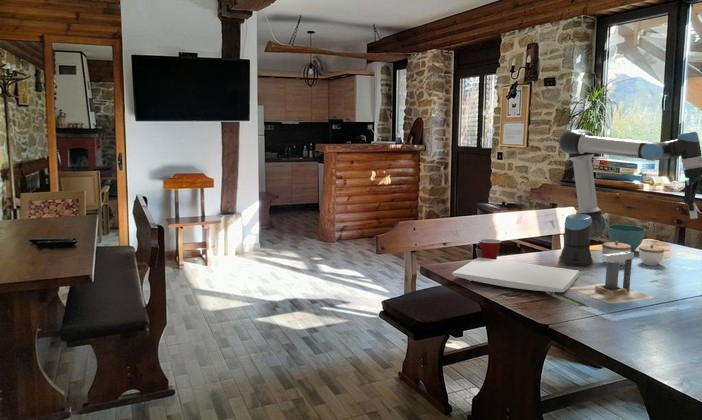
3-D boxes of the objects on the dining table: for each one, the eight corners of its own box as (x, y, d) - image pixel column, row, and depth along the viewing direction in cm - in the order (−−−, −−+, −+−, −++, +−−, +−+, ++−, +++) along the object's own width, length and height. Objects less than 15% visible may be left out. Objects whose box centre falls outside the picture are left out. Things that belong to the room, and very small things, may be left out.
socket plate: (567, 291, 224) (570, 257, 222) (609, 285, 232) (611, 252, 230) (611, 308, 204) (614, 270, 202) (655, 301, 212) (658, 264, 210)
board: (452, 283, 238) (452, 272, 237) (478, 266, 264) (478, 257, 264) (562, 300, 214) (563, 289, 213) (578, 281, 240) (579, 270, 240)
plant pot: (648, 250, 298) (650, 227, 296) (638, 256, 285) (640, 232, 283) (612, 245, 310) (613, 223, 308) (601, 250, 297) (602, 228, 295)
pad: (551, 295, 219) (551, 293, 219) (569, 293, 222) (569, 291, 222) (578, 306, 206) (578, 304, 206) (596, 303, 209) (596, 301, 209)
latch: (600, 260, 216) (601, 254, 216) (628, 257, 221) (628, 251, 221) (608, 262, 213) (608, 256, 212) (635, 259, 218) (636, 253, 218)
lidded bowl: (634, 266, 264) (636, 243, 262) (607, 266, 264) (609, 243, 262) (622, 260, 276) (624, 238, 274) (596, 260, 276) (598, 238, 275)
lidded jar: (667, 266, 264) (669, 247, 262) (644, 266, 264) (646, 247, 263) (655, 261, 274) (657, 242, 273) (633, 261, 275) (635, 242, 273)
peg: (602, 291, 219) (604, 262, 217) (610, 290, 221) (612, 261, 219) (610, 294, 215) (613, 264, 213) (619, 293, 217) (621, 263, 215)
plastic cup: (498, 261, 273) (499, 237, 271) (502, 267, 262) (503, 242, 260) (476, 261, 274) (477, 237, 272) (479, 266, 263) (479, 241, 262)
